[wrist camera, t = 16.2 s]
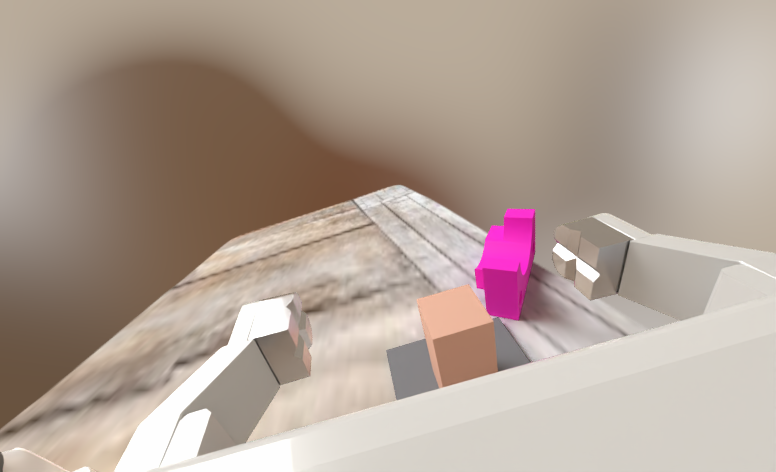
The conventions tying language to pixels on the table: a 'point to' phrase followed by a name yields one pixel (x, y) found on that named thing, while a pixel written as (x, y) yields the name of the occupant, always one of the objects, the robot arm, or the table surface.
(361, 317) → the table surface
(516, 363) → the mat
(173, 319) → the table surface
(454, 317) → the pillar block
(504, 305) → the toy block
